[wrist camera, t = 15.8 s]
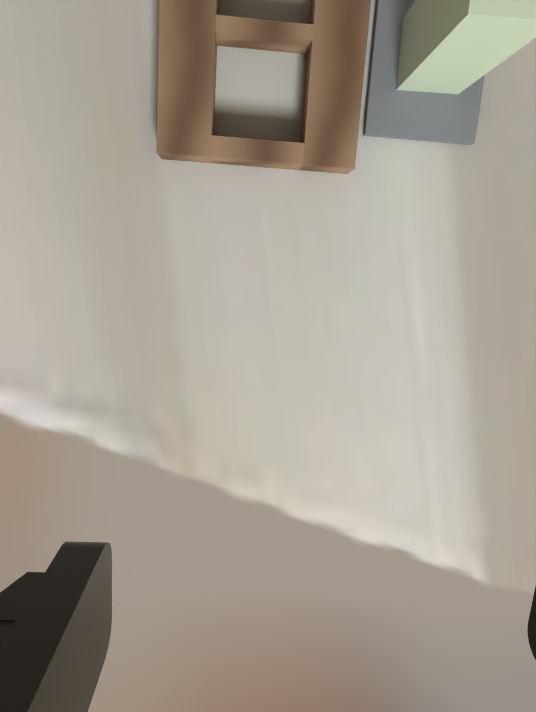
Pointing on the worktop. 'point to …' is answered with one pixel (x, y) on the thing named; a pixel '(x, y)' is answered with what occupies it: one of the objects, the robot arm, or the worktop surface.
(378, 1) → the slate mat
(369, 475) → the worktop surface
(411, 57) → the sage block
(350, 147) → the puzzle board
